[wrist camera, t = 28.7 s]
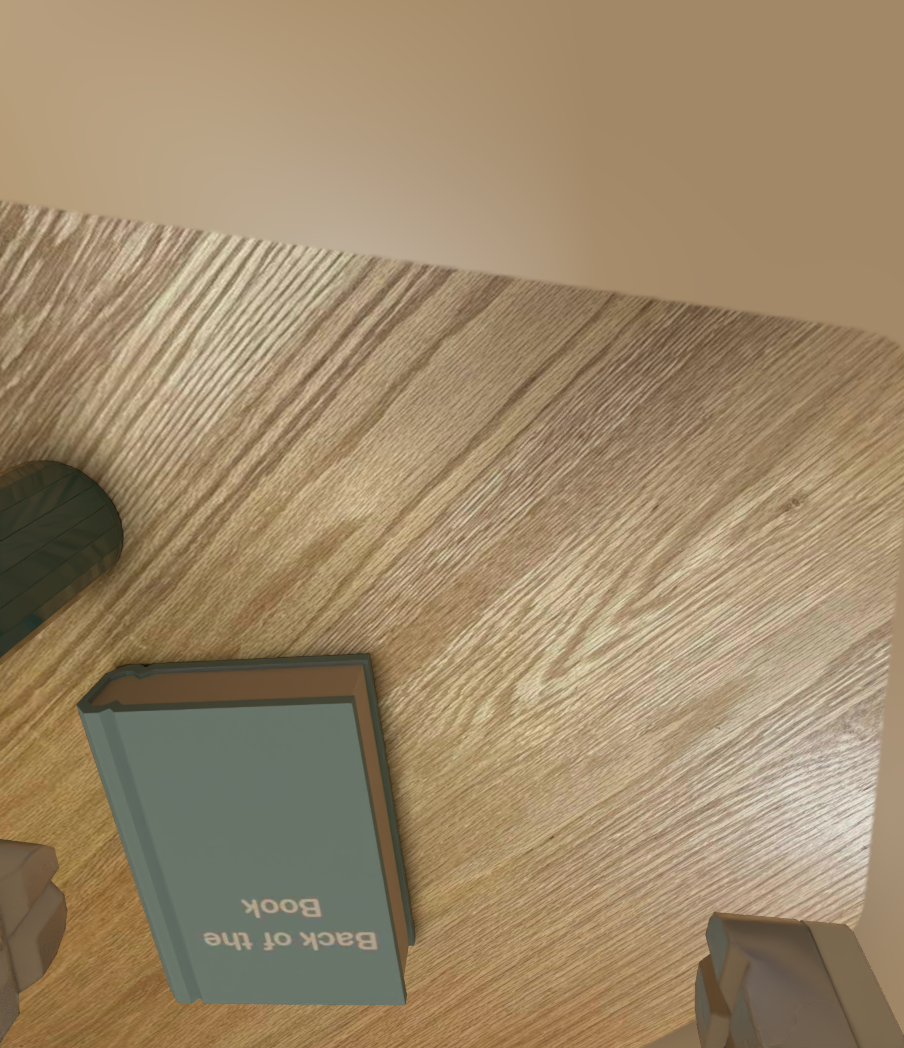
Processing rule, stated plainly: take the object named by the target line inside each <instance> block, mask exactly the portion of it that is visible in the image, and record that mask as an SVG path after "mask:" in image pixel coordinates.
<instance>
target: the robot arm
mask: <svg viewBox="0 0 904 1048" xmlns="http://www.w3.org/2000/svg"><path fill="white" fill-rule="evenodd" d="M58 869H59V865H58V861H57V857H56V853H55V849H54V847H50V846H46V845H42V844H34V843H26V842H19V841H11V840H3V839H0V1043H1V1041H2V1040H3V1038H4V1037H5V1035H6V1034H7V1032H8V1031H9V1029H10V1027H11V1026H12V1024H13V1023H14V1021H15V1020H16V1018H17V1017H18V1015H19V1013H20V1009H19V993H20V992H22V991H23V990H25V989H26V988H28V987H29V986H31V985H32V984H34V983H35V982H37V981H38V980H39V979H41V978H42V977H43V976H44V974H45V973H46V971H47V969H48V968H49V966H50V964H51V963H52V961H53V959H54V958H55V956H56V954H57V952H58V949H59V946H60V943H61V940H62V937H63V935H64V932H65V929H66V917H67V906H66V901H65V895H64V894H63V893H62V892H61V891H60V890H59V889H58V888H57V887H56V885H55V884H54V883H53V882H52V881H51V879H52V877H53V876H54V875H55V873H56V872H57V870H58ZM706 939H707V943H708V947H709V951H710V954H709V955H708V956H707V957H705V958H704V959H703V960H701V961H700V962H699V966H698V971H697V976H696V982H695V1013H696V1021H697V1029H698V1034H699V1039H700V1043H701V1048H904V1035H903V1033H902V1031H901V1029H900V1027H899V1024H898V1022H897V1020H896V1018H895V1016H894V1014H893V1012H892V1010H891V1008H890V1006H889V1004H888V1002H887V1000H886V998H885V996H884V994H883V992H882V989H881V987H880V985H879V983H878V981H877V979H876V977H875V975H874V973H873V971H872V969H871V967H870V965H869V963H868V961H867V959H866V956H865V954H864V953H863V950H862V948H861V946H860V944H859V942H858V940H857V938H856V936H855V934H854V932H853V931H852V930H851V929H850V928H849V927H848V926H847V925H846V924H835V923H825V922H815V921H804V920H801V921H798V920H796V919H787V918H776V917H765V916H753V915H742V914H731V913H720V912H714V913H713V915H712V916H711V918H710V919H709V923H708V927H707V931H706Z"/></svg>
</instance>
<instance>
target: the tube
mask: <svg viewBox="0 0 904 1048" xmlns="http://www.w3.org/2000/svg"><path fill="white" fill-rule="evenodd" d="M122 543H123V534H122V527H121V522H120V519H119V516H118V513H117V511H116V509H115V507H114V505H113V503H112V502H111V500H110V499H109V497H108V496H107V495H106V493H105V492H104V491H103V490H102V489H101V488H100V487H99V486H98V485H97V484H96V483H95V482H94V481H93V480H92V479H90V478H89V477H88V476H86V475H85V474H83V473H82V472H80V471H78V470H76V469H74V468H72V467H69V466H67V465H64V464H61V463H57V462H51V461H31V462H26V463H23V464H20V465H17V466H15V467H11V468H9V469H7V470H5V471H2V472H0V665H2V664H3V663H4V662H5V661H6V660H7V659H9V658H10V657H11V656H12V655H13V654H15V653H16V652H17V651H18V650H19V649H21V648H22V647H23V646H24V645H25V644H27V643H28V642H29V641H30V640H31V639H33V638H34V637H35V636H36V635H37V634H39V633H40V632H41V631H42V630H43V629H45V628H46V627H47V626H48V625H49V624H51V623H52V622H53V621H54V620H55V619H56V618H58V617H59V616H60V615H61V614H62V613H64V612H65V611H66V610H67V609H68V608H70V607H71V606H72V605H73V604H74V603H76V602H77V601H78V600H79V599H80V598H82V597H83V596H84V595H85V594H86V593H88V592H89V591H90V590H91V589H92V588H94V587H95V586H96V585H97V584H98V583H100V582H101V581H102V580H103V579H104V578H105V577H106V576H107V575H108V574H109V573H110V572H111V571H112V569H113V568H114V567H115V565H116V563H117V562H118V559H119V557H120V554H121V550H122Z"/></svg>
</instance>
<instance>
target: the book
mask: <svg viewBox="0 0 904 1048" xmlns="http://www.w3.org/2000/svg"><path fill="white" fill-rule="evenodd" d="M76 705H77V708H78V711H79V714H80V717H81V720H82V724H83V727H84V730H85V733H86V736H87V739H88V742H89V745H90V748H91V751H92V754H93V757H94V760H95V763H96V766H97V769H98V772H99V775H100V778H101V781H102V784H103V787H104V790H105V793H106V796H107V799H108V802H109V805H110V808H111V811H112V814H113V817H114V821H115V824H116V827H117V830H118V833H119V836H120V839H121V842H122V845H123V848H124V851H125V854H126V857H127V860H128V863H129V866H130V869H131V872H132V875H133V878H134V881H135V884H136V887H137V890H138V893H139V896H140V899H141V902H142V905H143V908H144V911H145V914H146V918H147V921H148V924H149V927H150V930H151V933H152V936H153V939H154V942H155V945H156V948H157V951H158V954H159V957H160V960H161V963H162V966H163V969H164V972H165V975H166V978H167V981H168V984H169V987H170V990H171V992H172V994H173V995H174V997H175V999H176V1000H177V1002H178V1003H179V1004H191V1003H193V1002H195V1001H196V1000H198V999H199V998H200V999H201V1000H202V1001H203V1003H204V1004H292V1005H405V1004H406V998H407V993H406V987H405V981H404V972H405V965H406V959H407V952H408V946H414V944H415V937H416V936H415V930H414V924H413V918H412V912H411V906H410V900H409V893H408V887H407V881H406V875H405V869H404V863H403V856H402V850H401V844H400V838H399V832H398V826H397V819H396V813H395V807H394V801H393V795H392V789H391V782H390V776H389V770H388V764H387V758H386V752H385V746H384V739H383V733H382V727H381V721H380V715H379V709H378V702H377V696H376V690H375V684H374V678H373V672H372V665H371V659H370V654H350V655H328V656H307V657H285V658H264V659H242V660H221V661H199V662H178V663H156V664H152V665H150V666H147V667H144V666H143V665H142V664H134V665H126V666H123V667H121V668H118V669H116V670H113V671H111V672H108V673H106V674H105V675H104V676H103V677H102V678H101V679H100V680H99V681H98V682H97V683H96V684H95V685H94V686H93V687H92V688H91V690H90V691H89V692H88V693H87V694H86V695H85V696H84V697H83V698H82V699H81V700H80V701H79V702H78V703H77V704H76Z"/></svg>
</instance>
